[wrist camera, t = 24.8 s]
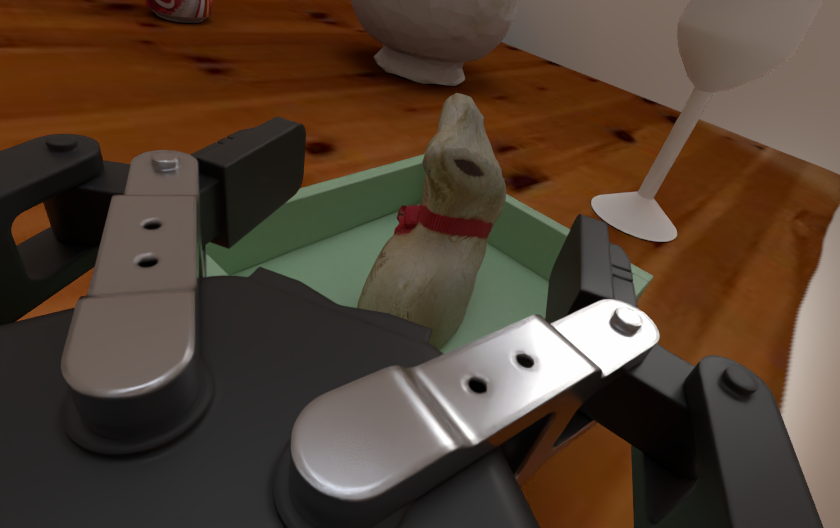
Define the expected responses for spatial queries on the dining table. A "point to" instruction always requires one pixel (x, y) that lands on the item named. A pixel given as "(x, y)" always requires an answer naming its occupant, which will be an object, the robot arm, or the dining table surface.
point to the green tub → (374, 225)
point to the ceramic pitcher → (434, 34)
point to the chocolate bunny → (441, 228)
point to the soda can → (181, 9)
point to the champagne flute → (711, 87)
